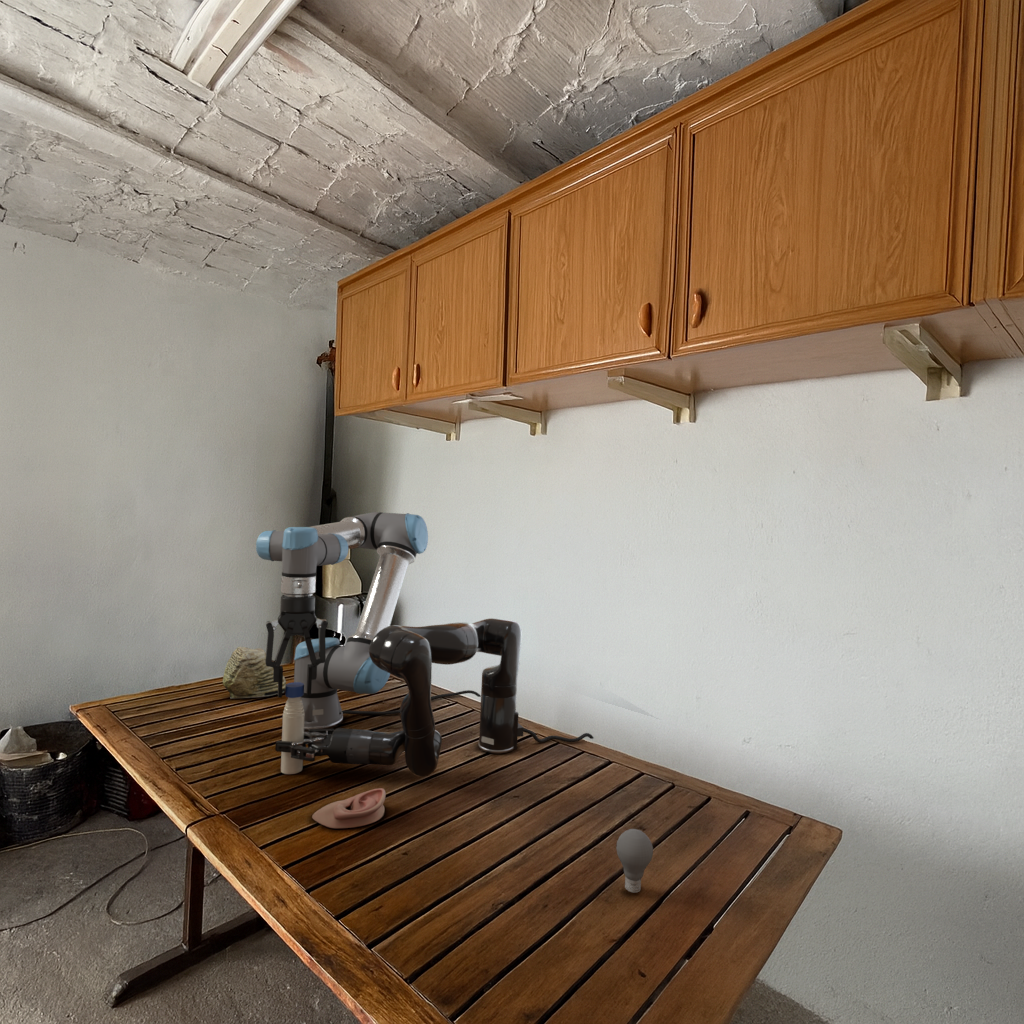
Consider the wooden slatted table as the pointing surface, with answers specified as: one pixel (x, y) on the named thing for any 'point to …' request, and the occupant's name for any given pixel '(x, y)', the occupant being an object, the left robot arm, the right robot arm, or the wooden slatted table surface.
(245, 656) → the fossil
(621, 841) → the light bulb
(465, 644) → the right robot arm
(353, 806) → the anatomical model
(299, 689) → the cap
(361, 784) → the wooden slatted table surface
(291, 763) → the bottle
